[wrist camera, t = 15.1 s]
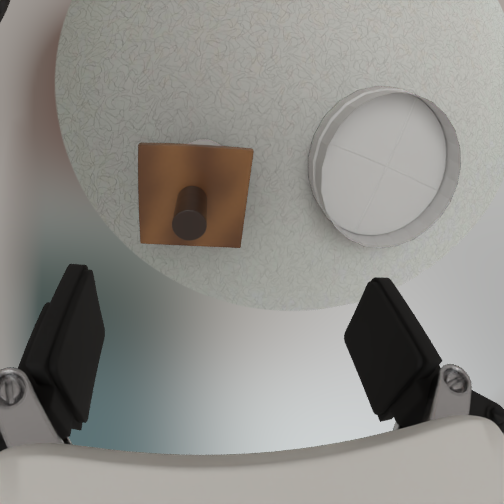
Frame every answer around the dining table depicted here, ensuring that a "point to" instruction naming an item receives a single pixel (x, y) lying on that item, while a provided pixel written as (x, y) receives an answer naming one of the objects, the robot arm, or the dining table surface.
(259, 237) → the dining table surface
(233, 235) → the square peg stand
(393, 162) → the dish
